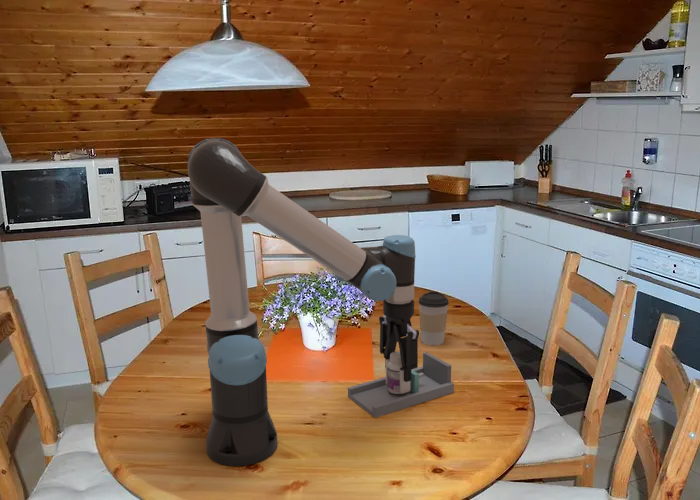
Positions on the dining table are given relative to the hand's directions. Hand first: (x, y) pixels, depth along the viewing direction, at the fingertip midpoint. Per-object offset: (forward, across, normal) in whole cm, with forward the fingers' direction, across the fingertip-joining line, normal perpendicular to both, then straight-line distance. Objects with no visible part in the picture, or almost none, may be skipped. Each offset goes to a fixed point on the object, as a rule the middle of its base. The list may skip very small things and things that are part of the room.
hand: (397, 387), depth 154 cm
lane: (+2, 0, -1) cm, 3 cm away
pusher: (+1, 0, -5) cm, 5 cm away
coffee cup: (+3, +24, -30) cm, 38 cm away
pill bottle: (+1, 0, 0) cm, 1 cm away
